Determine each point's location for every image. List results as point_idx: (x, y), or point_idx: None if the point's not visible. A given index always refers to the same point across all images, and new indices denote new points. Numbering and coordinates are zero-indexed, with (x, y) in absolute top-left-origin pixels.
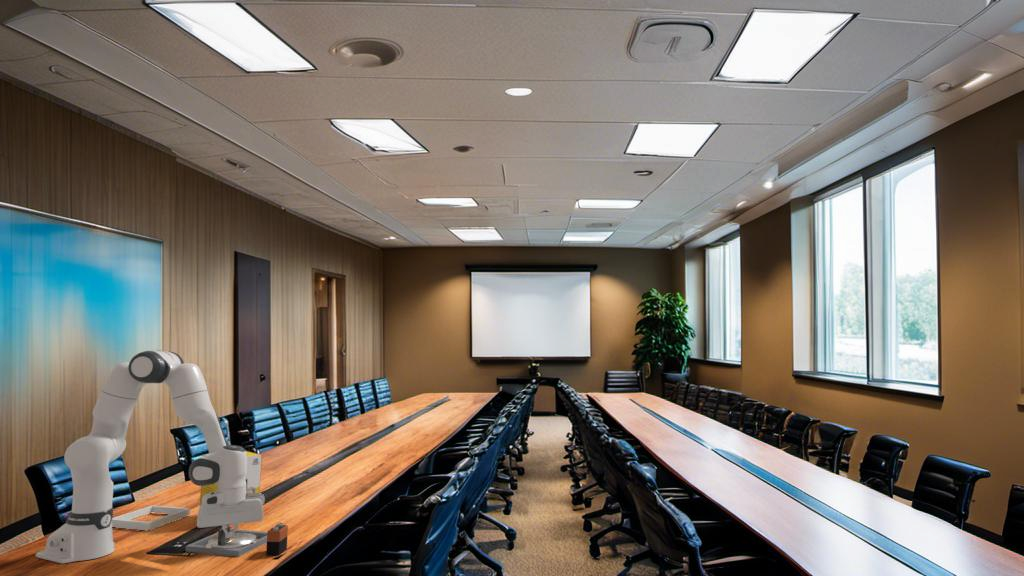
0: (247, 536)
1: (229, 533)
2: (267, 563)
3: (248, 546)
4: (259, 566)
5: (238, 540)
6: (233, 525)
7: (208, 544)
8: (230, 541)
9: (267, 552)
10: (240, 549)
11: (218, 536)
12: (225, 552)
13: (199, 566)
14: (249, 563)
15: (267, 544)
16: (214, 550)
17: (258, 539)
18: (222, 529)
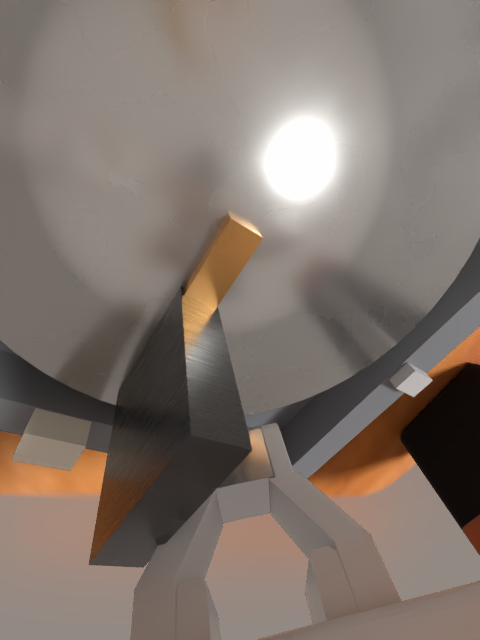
0: (424, 150)
1: (241, 512)
2: (388, 469)
3: (357, 434)
4: (352, 490)
5: (306, 287)
6: (309, 573)
7: (38, 457)
8: (227, 303)
9: (422, 469)
10: (302, 471)
11: (109, 471)
12: None
13: (81, 486)
14: (321, 466)
15: (451, 511)
16: None
17: (473, 300)
18: (147, 555)
